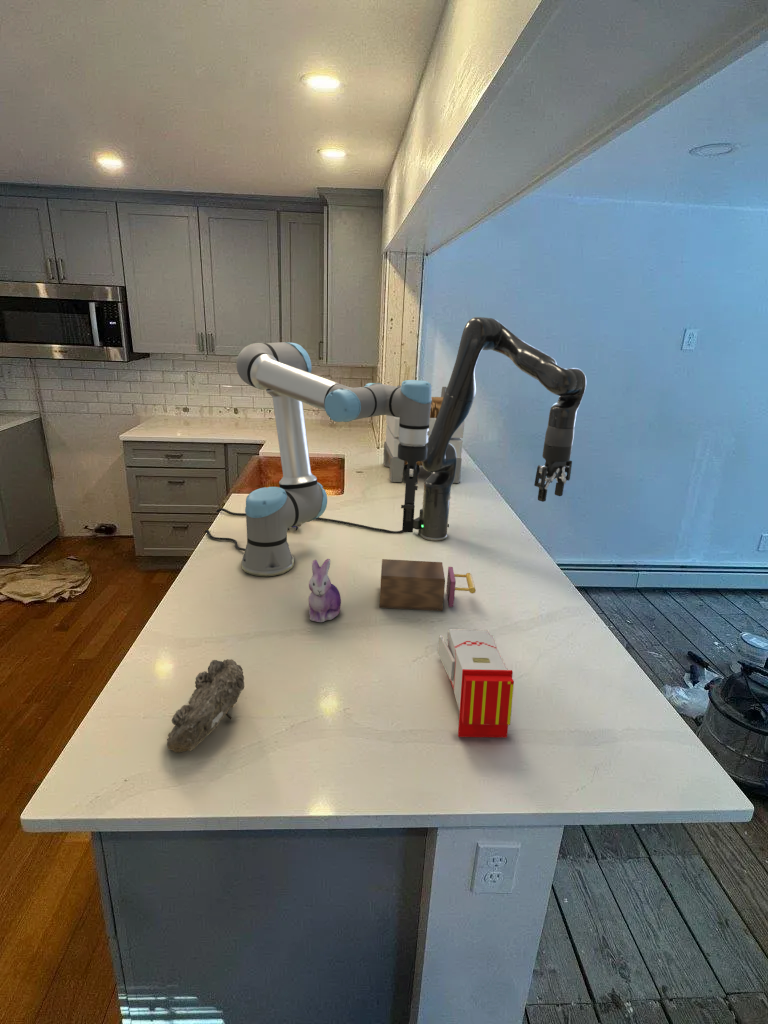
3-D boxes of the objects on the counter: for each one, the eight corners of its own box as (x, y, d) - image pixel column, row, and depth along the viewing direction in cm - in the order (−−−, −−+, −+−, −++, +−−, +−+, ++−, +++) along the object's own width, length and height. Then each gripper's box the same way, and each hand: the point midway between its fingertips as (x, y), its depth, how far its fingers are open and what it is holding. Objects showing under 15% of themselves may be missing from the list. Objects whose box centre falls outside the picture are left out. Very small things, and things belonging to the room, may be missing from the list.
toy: (488, 613, 130) (523, 677, 101) (484, 667, 133) (517, 744, 104) (435, 612, 130) (455, 676, 101) (432, 666, 133) (451, 743, 103)
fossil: (192, 660, 117) (244, 628, 112) (224, 691, 120) (276, 661, 115) (142, 746, 98) (202, 712, 93) (182, 779, 101) (242, 748, 96)
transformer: (382, 463, 289) (386, 382, 275) (445, 464, 293) (451, 384, 279) (390, 482, 257) (394, 392, 243) (460, 483, 261) (468, 394, 247)
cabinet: (439, 592, 160) (442, 562, 157) (442, 611, 150) (445, 578, 147) (380, 589, 160) (382, 558, 157) (379, 607, 150) (380, 575, 147)
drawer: (469, 592, 159) (472, 567, 156) (473, 608, 150) (476, 582, 148) (395, 588, 159) (397, 563, 156) (395, 604, 150) (396, 578, 148)
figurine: (314, 627, 139) (314, 572, 134) (300, 608, 148) (299, 555, 143) (349, 619, 143) (350, 565, 138) (333, 601, 152) (334, 550, 147)
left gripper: (428, 456, 131) (422, 541, 138) (427, 434, 154) (422, 507, 161) (396, 454, 131) (391, 539, 138) (400, 432, 154) (396, 505, 162)
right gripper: (560, 437, 164) (552, 490, 169) (531, 442, 154) (524, 499, 160) (584, 442, 158) (575, 497, 164) (555, 448, 149) (547, 506, 155)
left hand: (408, 522), depth 150 cm, fingers open, 13 cm apart
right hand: (549, 498), depth 162 cm, fingers open, 8 cm apart
